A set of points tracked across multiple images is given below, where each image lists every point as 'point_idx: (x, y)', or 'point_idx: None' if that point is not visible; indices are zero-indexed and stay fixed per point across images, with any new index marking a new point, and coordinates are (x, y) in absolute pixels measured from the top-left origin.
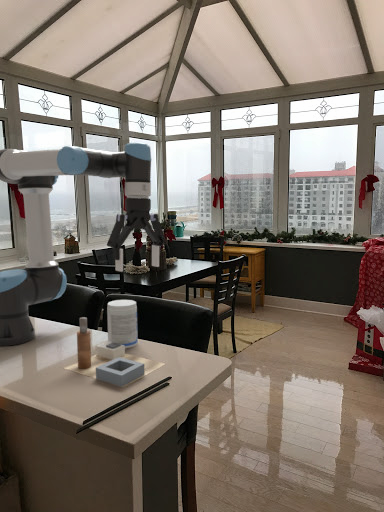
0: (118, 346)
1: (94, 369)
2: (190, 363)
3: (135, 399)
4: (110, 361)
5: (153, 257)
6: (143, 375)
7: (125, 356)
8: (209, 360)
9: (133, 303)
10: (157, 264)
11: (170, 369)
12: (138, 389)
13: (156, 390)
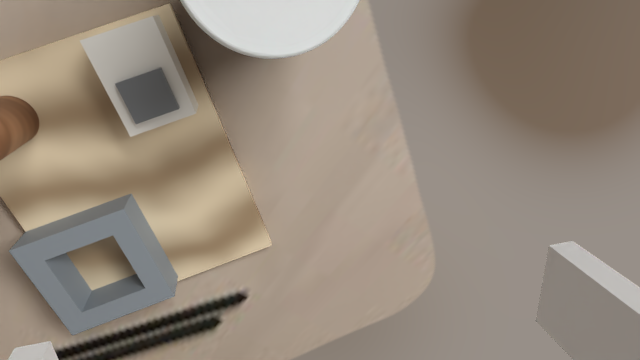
0: (166, 113)
1: (41, 164)
2: (345, 252)
3: (100, 354)
4: (78, 228)
5: (626, 337)
6: None
7: (192, 120)
8: (398, 261)
9: (323, 30)
10: (555, 337)
11: (273, 257)
12: (131, 316)
13: (170, 339)
